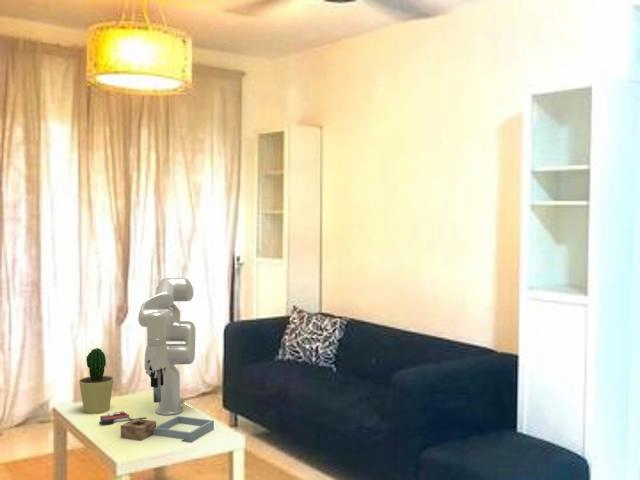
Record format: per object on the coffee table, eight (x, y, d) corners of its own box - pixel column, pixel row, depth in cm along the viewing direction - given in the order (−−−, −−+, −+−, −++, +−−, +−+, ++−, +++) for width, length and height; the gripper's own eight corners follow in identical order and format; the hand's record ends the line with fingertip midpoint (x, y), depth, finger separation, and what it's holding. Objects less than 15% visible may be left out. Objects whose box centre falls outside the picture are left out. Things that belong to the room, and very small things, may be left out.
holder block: (136, 432, 277) (136, 418, 277) (156, 435, 273) (156, 421, 273) (120, 440, 268) (120, 425, 267) (141, 443, 264) (140, 428, 264)
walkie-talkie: (100, 428, 284) (147, 421, 293) (99, 417, 284) (146, 412, 293) (97, 422, 292) (143, 416, 301) (97, 412, 292) (143, 407, 301)
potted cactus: (100, 404, 320) (99, 342, 319) (120, 409, 311) (120, 346, 310) (72, 411, 308) (71, 347, 307) (92, 417, 299) (91, 351, 298)
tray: (178, 424, 288) (178, 415, 288) (213, 429, 281) (213, 420, 281) (153, 437, 271) (153, 427, 271) (190, 442, 264) (190, 433, 264)
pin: (156, 399, 276) (155, 364, 275) (165, 400, 274) (164, 365, 273) (149, 402, 271) (148, 366, 271) (158, 403, 269) (157, 367, 269)
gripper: (161, 337, 281) (162, 380, 281) (136, 344, 266) (136, 390, 266) (176, 339, 277) (176, 382, 278) (151, 346, 263) (151, 392, 263)
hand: (157, 385), depth 272 cm, fingers closed on pin, 3 cm apart
